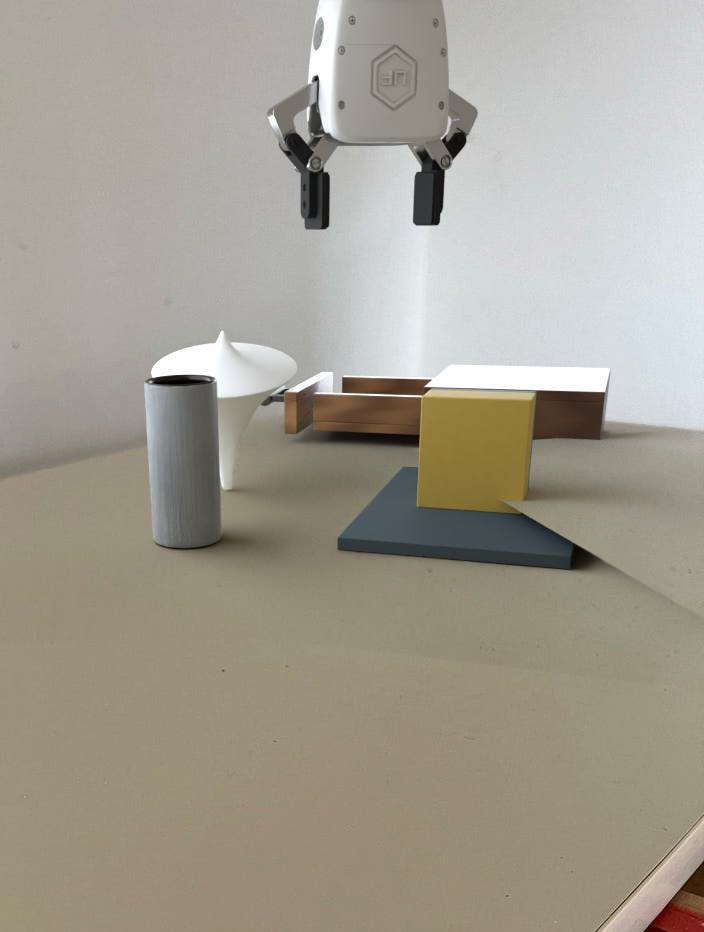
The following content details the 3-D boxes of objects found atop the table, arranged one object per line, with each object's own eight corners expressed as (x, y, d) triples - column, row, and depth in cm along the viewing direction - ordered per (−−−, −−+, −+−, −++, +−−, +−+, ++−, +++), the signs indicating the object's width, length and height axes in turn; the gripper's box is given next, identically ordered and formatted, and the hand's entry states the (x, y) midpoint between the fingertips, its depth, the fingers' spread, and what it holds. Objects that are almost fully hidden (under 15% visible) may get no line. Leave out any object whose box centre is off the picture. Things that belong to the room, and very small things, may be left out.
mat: (402, 476, 82) (403, 466, 82) (587, 486, 77) (588, 476, 77) (337, 549, 65) (337, 537, 64) (569, 569, 60) (571, 556, 60)
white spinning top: (300, 505, 74) (300, 334, 70) (152, 508, 75) (142, 338, 70) (294, 472, 84) (294, 319, 79) (163, 475, 84) (155, 323, 80)
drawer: (244, 431, 96) (243, 390, 94) (285, 408, 106) (284, 370, 105) (431, 440, 90) (433, 396, 88) (454, 415, 100) (457, 375, 99)
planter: (221, 548, 66) (216, 384, 62) (150, 550, 66) (140, 386, 62) (222, 528, 70) (217, 373, 66) (155, 529, 70) (147, 375, 66)
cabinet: (420, 452, 90) (423, 386, 88) (447, 422, 101) (450, 364, 99) (597, 460, 85) (605, 392, 83) (603, 429, 96) (610, 368, 94)
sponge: (416, 507, 70) (421, 396, 67) (426, 494, 73) (431, 388, 70) (521, 514, 68) (531, 400, 65) (527, 501, 71) (537, 391, 68)
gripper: (290, -44, 69) (290, 231, 75) (510, -33, 74) (493, 224, 81) (249, -21, 75) (253, 230, 82) (454, -12, 81) (442, 224, 87)
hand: (372, 227), depth 81 cm, fingers open, 9 cm apart
